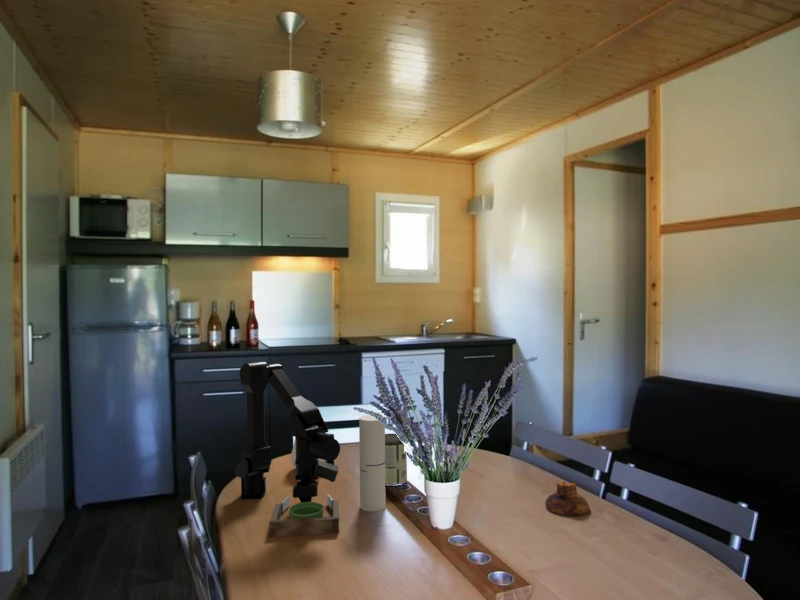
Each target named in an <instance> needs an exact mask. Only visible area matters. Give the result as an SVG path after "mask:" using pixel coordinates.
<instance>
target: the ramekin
mask: <svg viewBox="0 0 800 600" xmlns="http://www.w3.org/2000/svg"><path fill="white" fill-rule="evenodd" d="M324 509H325V508H324V505H323V504H322V503H320V502H317V501H311V502H302V503H301V502H299V503H295V504H293V505H291V506H289V508H288V514H289V519H301V518H320V517H323V514H324Z"/></svg>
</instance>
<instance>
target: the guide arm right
mask: <svg viewBox="0 0 800 600" xmlns="http://www.w3.org/2000/svg"><path fill="white" fill-rule="evenodd" d="M326 496H327V497H326V502H327V504H328V506H329V507H330V509H331V512H332V513H333V501H336V500H335V499H333V497H332V496H331V495H330V493H327V494H326Z"/></svg>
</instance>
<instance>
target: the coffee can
mask: <svg viewBox="0 0 800 600" xmlns="http://www.w3.org/2000/svg"><path fill="white" fill-rule="evenodd" d="M396 434H397V433H385V484H393V483H399V482H405V481H407V482H408V473H407V472H408V468H407V466H408V464H407V463H408V461H407V458H408V457H407V456H408V455H407V456H406V454H405V453H404V444H403V443H402V442H401V441H400V440H399V438H398V437H397V435H396Z"/></svg>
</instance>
